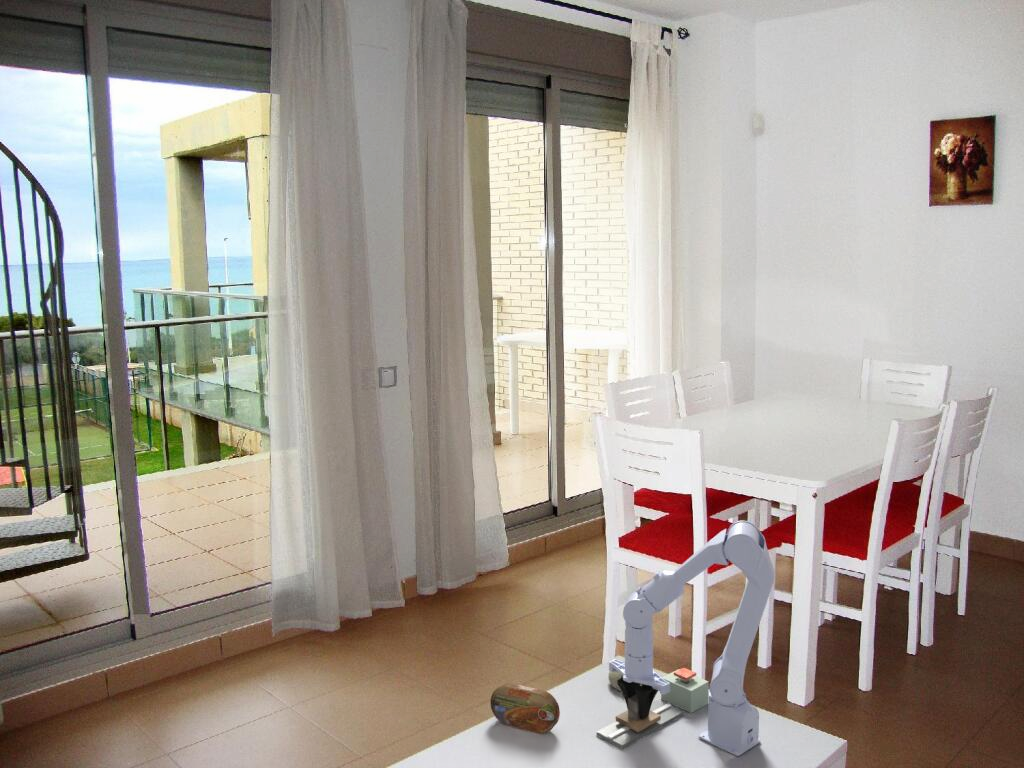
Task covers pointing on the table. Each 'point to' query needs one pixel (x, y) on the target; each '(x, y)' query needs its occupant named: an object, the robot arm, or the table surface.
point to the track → (628, 736)
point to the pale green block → (686, 693)
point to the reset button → (685, 675)
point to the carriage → (636, 716)
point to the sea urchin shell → (615, 679)
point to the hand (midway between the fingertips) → (638, 714)
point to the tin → (525, 708)
